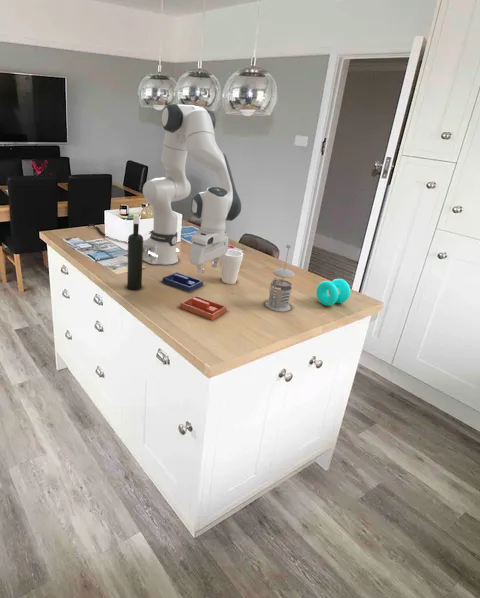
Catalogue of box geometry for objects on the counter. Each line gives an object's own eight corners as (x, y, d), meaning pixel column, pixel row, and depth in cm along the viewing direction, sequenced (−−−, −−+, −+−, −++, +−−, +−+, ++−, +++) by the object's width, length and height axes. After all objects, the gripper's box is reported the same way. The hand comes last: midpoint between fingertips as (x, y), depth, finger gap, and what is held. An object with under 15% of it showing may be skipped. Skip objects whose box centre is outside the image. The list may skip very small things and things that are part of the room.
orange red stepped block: (190, 305, 157) (190, 299, 155) (195, 303, 159) (195, 296, 158) (212, 314, 151) (213, 307, 150) (217, 311, 154) (218, 304, 153)
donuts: (348, 306, 167) (354, 283, 163) (331, 310, 163) (337, 286, 159) (329, 296, 175) (334, 274, 171) (312, 300, 170) (317, 277, 166)
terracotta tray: (180, 307, 155) (180, 302, 155) (194, 299, 163) (195, 295, 162) (212, 320, 148) (212, 315, 147) (226, 311, 155) (226, 306, 154)
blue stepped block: (171, 280, 178) (172, 275, 177) (176, 278, 180) (176, 273, 179) (191, 287, 173) (191, 281, 172) (195, 285, 175) (195, 279, 174)
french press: (295, 306, 163) (307, 245, 153) (278, 315, 156) (290, 251, 145) (274, 298, 169) (285, 239, 159) (257, 305, 162) (267, 243, 151)
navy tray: (162, 282, 177) (162, 277, 176) (176, 276, 184) (176, 272, 183) (189, 291, 169) (189, 287, 169) (202, 285, 177) (203, 281, 176)
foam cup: (238, 286, 178) (242, 257, 173) (217, 283, 180) (220, 254, 174) (240, 278, 187) (244, 251, 181) (219, 275, 188) (222, 248, 183)
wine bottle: (131, 291, 166) (133, 216, 153) (124, 286, 170) (126, 213, 158) (144, 288, 169) (146, 215, 157) (137, 283, 173) (139, 212, 161)
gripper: (220, 227, 159) (215, 261, 165) (188, 237, 144) (184, 274, 150) (234, 231, 155) (229, 265, 161) (203, 242, 140) (198, 279, 146)
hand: (207, 270), depth 155 cm, fingers open, 8 cm apart
